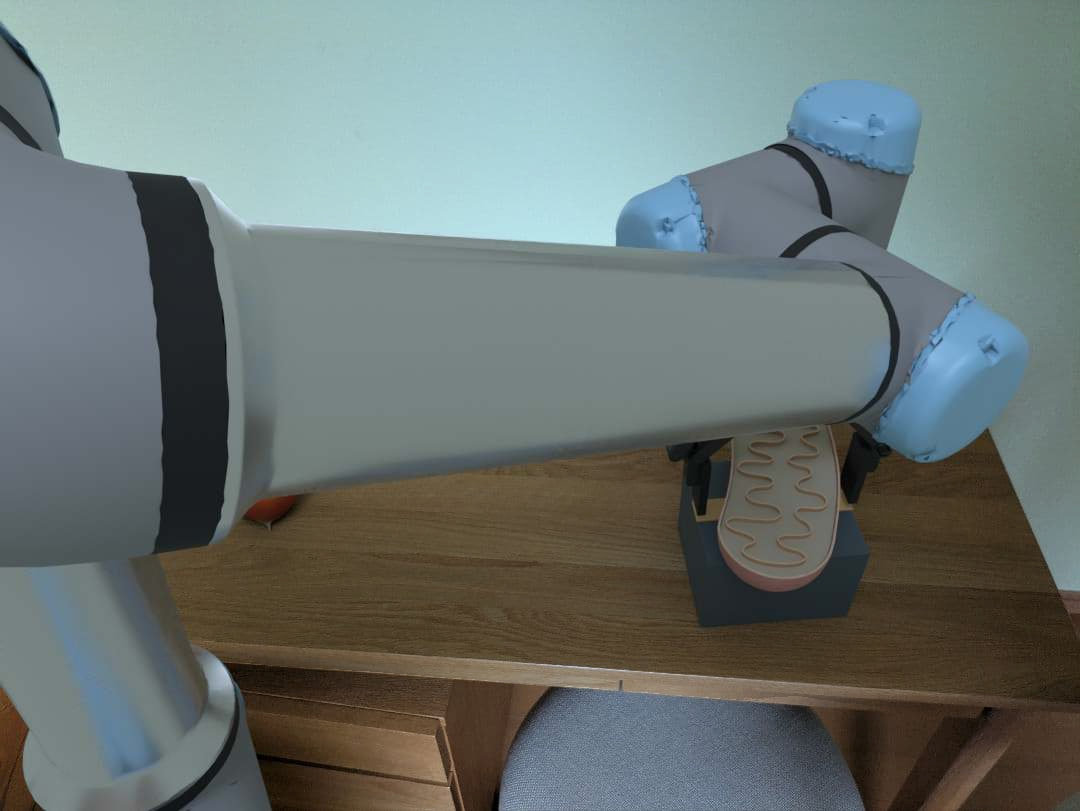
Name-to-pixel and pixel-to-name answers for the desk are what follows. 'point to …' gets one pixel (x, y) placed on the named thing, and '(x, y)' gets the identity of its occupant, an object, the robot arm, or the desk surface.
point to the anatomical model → (781, 507)
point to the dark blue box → (741, 603)
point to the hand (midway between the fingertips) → (772, 498)
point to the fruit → (269, 509)
